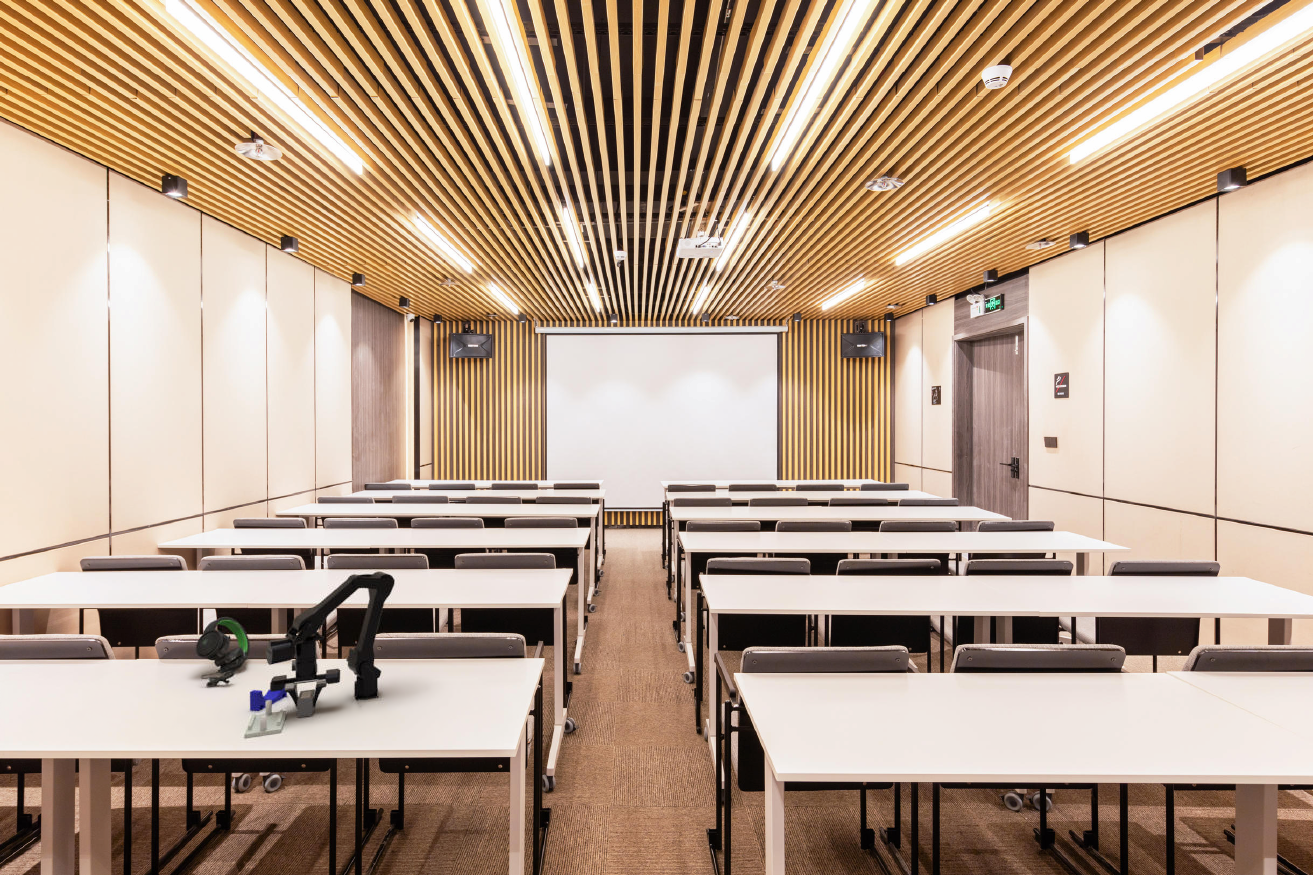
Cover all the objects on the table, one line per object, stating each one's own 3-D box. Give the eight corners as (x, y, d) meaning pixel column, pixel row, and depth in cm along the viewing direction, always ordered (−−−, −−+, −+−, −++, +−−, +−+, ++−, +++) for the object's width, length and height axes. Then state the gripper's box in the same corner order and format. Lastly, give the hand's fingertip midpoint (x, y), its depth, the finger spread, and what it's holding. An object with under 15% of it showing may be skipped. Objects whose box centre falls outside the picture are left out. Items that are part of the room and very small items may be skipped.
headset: (214, 707, 234) (240, 644, 259) (249, 690, 234) (272, 629, 259) (175, 676, 225) (206, 614, 250) (212, 659, 225) (239, 598, 249)
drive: (315, 705, 214) (314, 688, 214) (312, 715, 207) (312, 698, 206) (300, 707, 213) (300, 690, 213) (297, 717, 205) (297, 700, 205)
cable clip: (274, 696, 223) (274, 677, 223) (286, 697, 222) (286, 678, 222) (245, 710, 211) (245, 691, 211) (258, 712, 210) (258, 692, 210)
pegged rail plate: (286, 713, 208) (286, 697, 208) (281, 732, 195) (281, 714, 195) (252, 718, 205) (251, 701, 205) (244, 738, 192) (244, 720, 192)
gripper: (340, 645, 220) (341, 693, 221) (274, 652, 213) (274, 702, 213) (339, 655, 210) (339, 706, 210) (269, 663, 203) (270, 716, 203)
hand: (306, 707), depth 210 cm, fingers closed on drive, 4 cm apart
